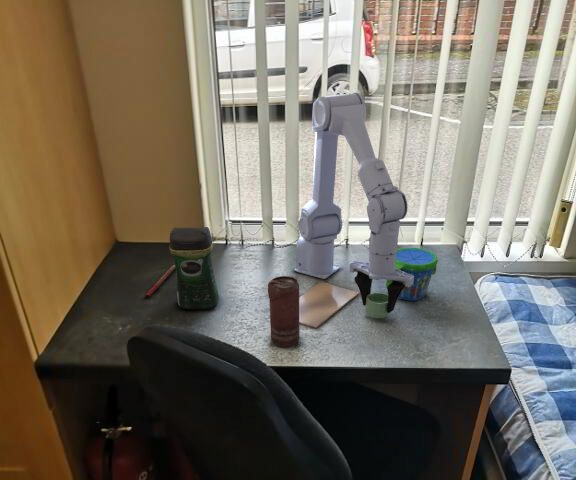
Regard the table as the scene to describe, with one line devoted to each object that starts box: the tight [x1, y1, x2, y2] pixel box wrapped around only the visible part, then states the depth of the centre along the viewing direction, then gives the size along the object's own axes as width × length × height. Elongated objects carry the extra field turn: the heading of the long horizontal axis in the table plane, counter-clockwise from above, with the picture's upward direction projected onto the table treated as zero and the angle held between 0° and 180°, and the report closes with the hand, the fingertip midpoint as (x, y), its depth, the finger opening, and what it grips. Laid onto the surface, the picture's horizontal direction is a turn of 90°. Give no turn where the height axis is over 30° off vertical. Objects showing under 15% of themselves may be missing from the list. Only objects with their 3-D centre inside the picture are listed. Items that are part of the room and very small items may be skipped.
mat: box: [299, 281, 360, 330], centre depth 136 cm, size 11×20×1 cm, turn 146°
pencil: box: [145, 264, 176, 299], centre depth 147 cm, size 19×1×1 cm, turn 167°
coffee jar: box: [169, 226, 220, 311], centre depth 131 cm, size 10×8×19 cm
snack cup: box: [385, 247, 439, 302], centre depth 136 cm, size 16×10×10 cm
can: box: [267, 275, 300, 349], centre depth 118 cm, size 6×6×14 cm
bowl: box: [365, 291, 391, 319], centre depth 129 cm, size 6×6×4 cm
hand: (377, 307), depth 129 cm, fingers closed on bowl, 5 cm apart
